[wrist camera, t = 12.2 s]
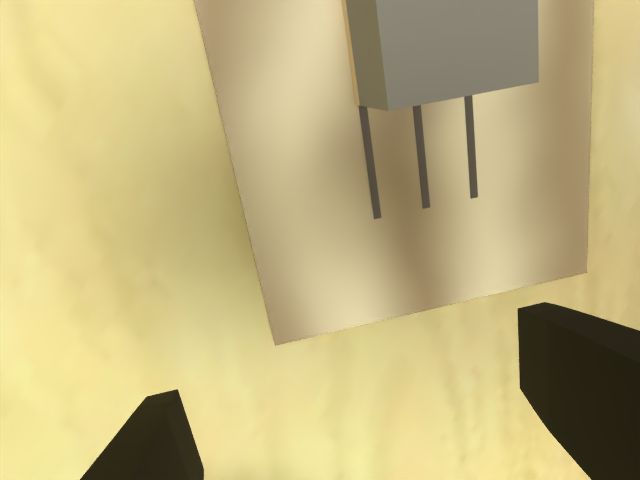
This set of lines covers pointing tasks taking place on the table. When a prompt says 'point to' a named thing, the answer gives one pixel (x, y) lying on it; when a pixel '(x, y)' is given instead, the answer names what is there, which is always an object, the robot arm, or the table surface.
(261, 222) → the board
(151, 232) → the table surface
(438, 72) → the block
